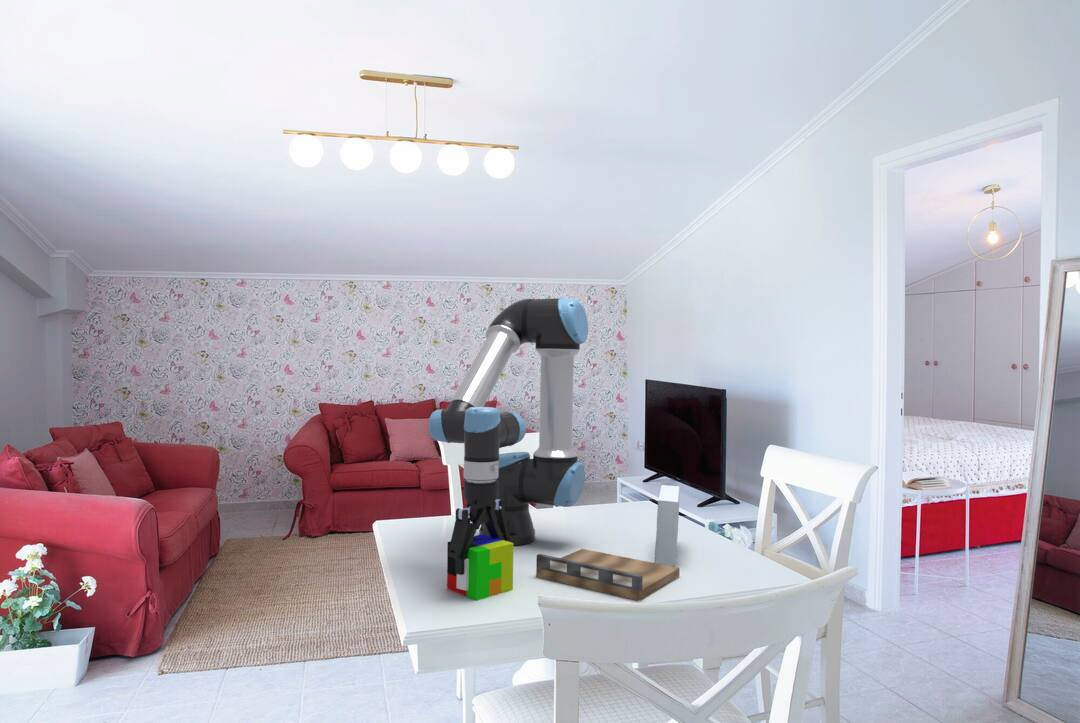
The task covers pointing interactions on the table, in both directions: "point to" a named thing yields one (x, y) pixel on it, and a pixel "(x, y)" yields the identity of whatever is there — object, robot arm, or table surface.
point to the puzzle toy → (484, 568)
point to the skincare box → (667, 525)
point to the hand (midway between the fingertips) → (480, 581)
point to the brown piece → (606, 573)
